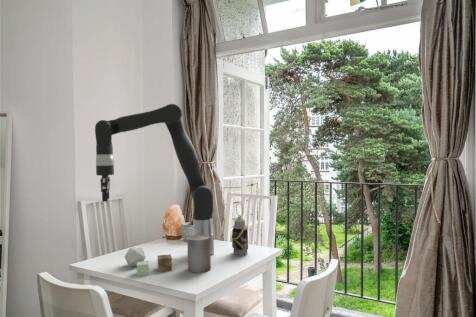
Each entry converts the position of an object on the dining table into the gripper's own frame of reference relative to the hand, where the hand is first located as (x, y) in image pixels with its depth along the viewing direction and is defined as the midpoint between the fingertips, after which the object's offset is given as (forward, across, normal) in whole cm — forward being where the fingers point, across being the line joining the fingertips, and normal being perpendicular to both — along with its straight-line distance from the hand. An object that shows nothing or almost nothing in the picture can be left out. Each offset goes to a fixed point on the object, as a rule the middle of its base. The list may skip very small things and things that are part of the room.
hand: (105, 200), depth 160 cm
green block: (+29, -20, -15) cm, 39 cm away
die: (+29, -8, -12) cm, 32 cm away
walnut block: (+29, -18, -24) cm, 42 cm away
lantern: (+29, -5, -61) cm, 68 cm away
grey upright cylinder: (+29, -22, -38) cm, 53 cm away
